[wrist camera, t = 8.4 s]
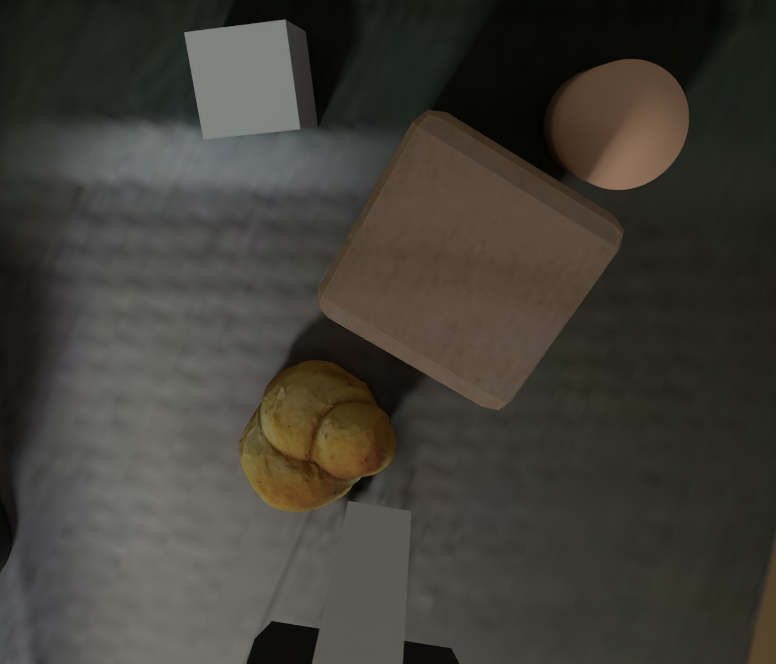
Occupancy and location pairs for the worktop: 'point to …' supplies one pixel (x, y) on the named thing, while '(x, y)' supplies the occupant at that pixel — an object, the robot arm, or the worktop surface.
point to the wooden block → (467, 260)
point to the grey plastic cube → (252, 79)
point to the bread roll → (314, 437)
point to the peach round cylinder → (617, 123)
